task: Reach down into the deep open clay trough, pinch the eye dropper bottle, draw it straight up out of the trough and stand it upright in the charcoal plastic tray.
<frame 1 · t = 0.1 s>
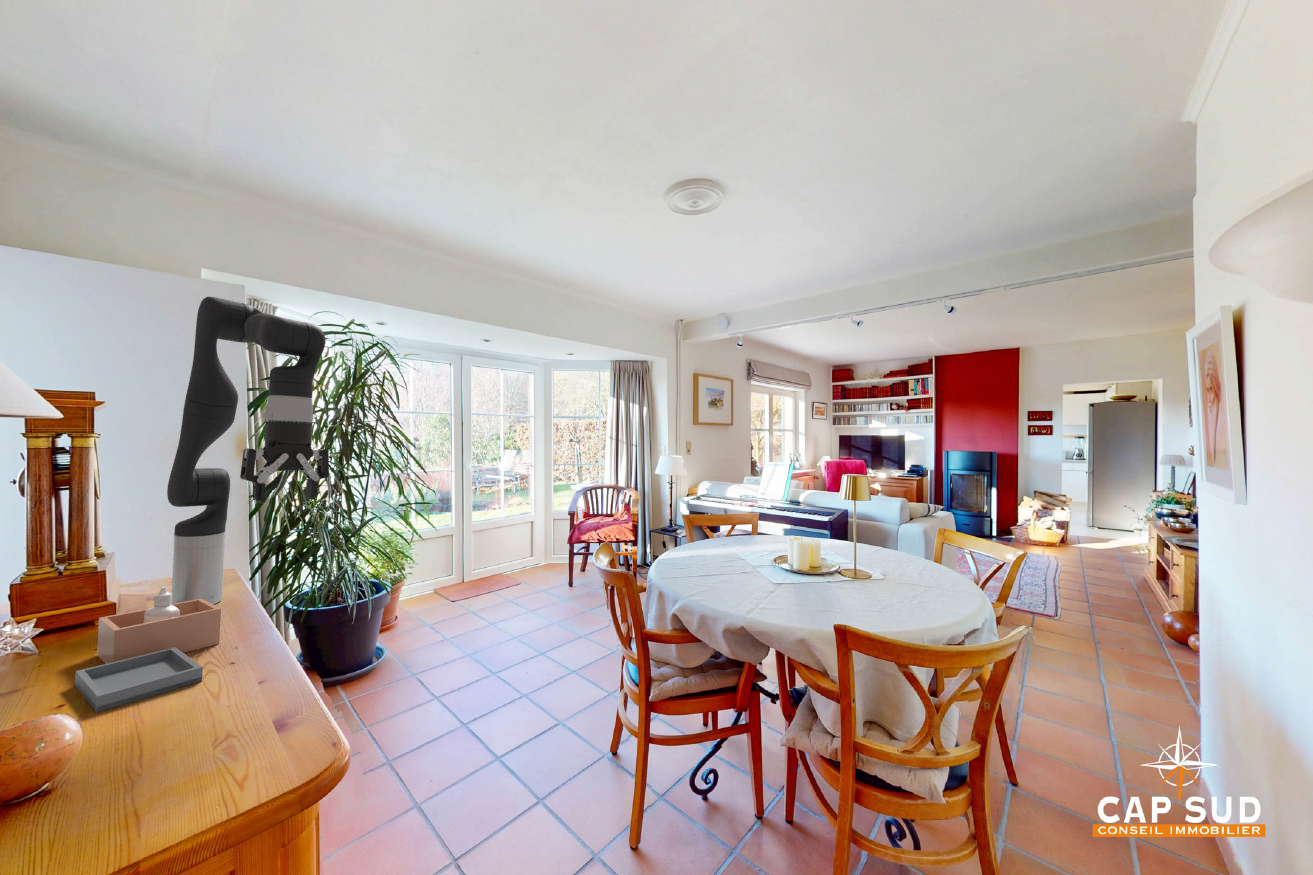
hand: (285, 500, 98), 29 cm above the sideboard, tool pointing down, fingers open, 8 cm apart
charcoal tray: (139, 683, 82), on the sideboard
open clay trough: (160, 649, 95), on the sideboard
eye dropper bottle: (160, 650, 95), resting in open clay trough
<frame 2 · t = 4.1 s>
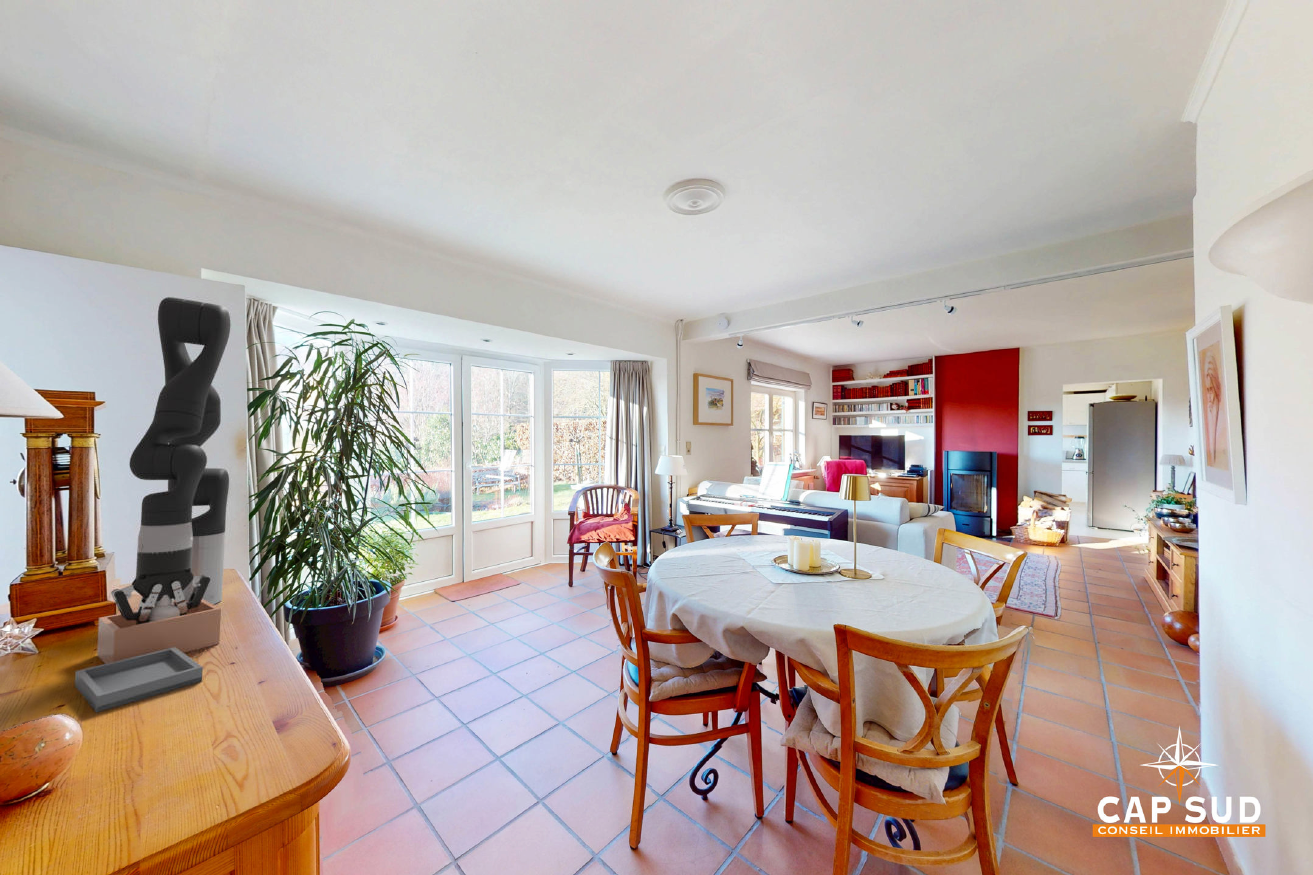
hand: (160, 634, 95), 3 cm above the sideboard, tool pointing down, fingers closed on eye dropper bottle, 4 cm apart
eye dropper bottle: (160, 650, 95), resting in open clay trough, touching gripper
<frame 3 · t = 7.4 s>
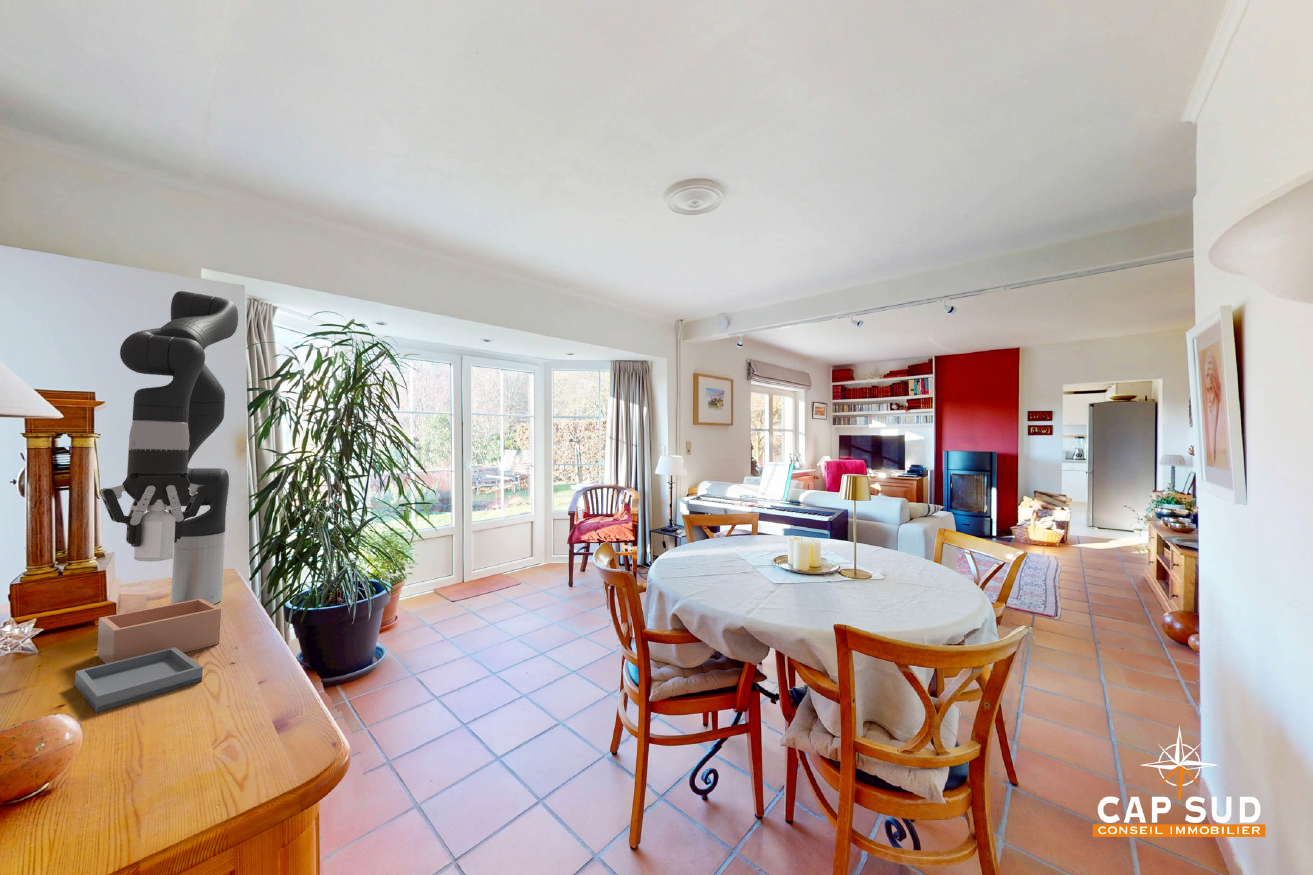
hand: (154, 543, 87), 22 cm above the sideboard, tool pointing down, fingers closed on eye dropper bottle, 4 cm apart
eye dropper bottle: (153, 560, 87), point 19 cm above the sideboard, touching gripper
when the fingers open (4 cm above the sideboard, at t = 10.9 s): eye dropper bottle stays where it is, resting on charcoal tray.
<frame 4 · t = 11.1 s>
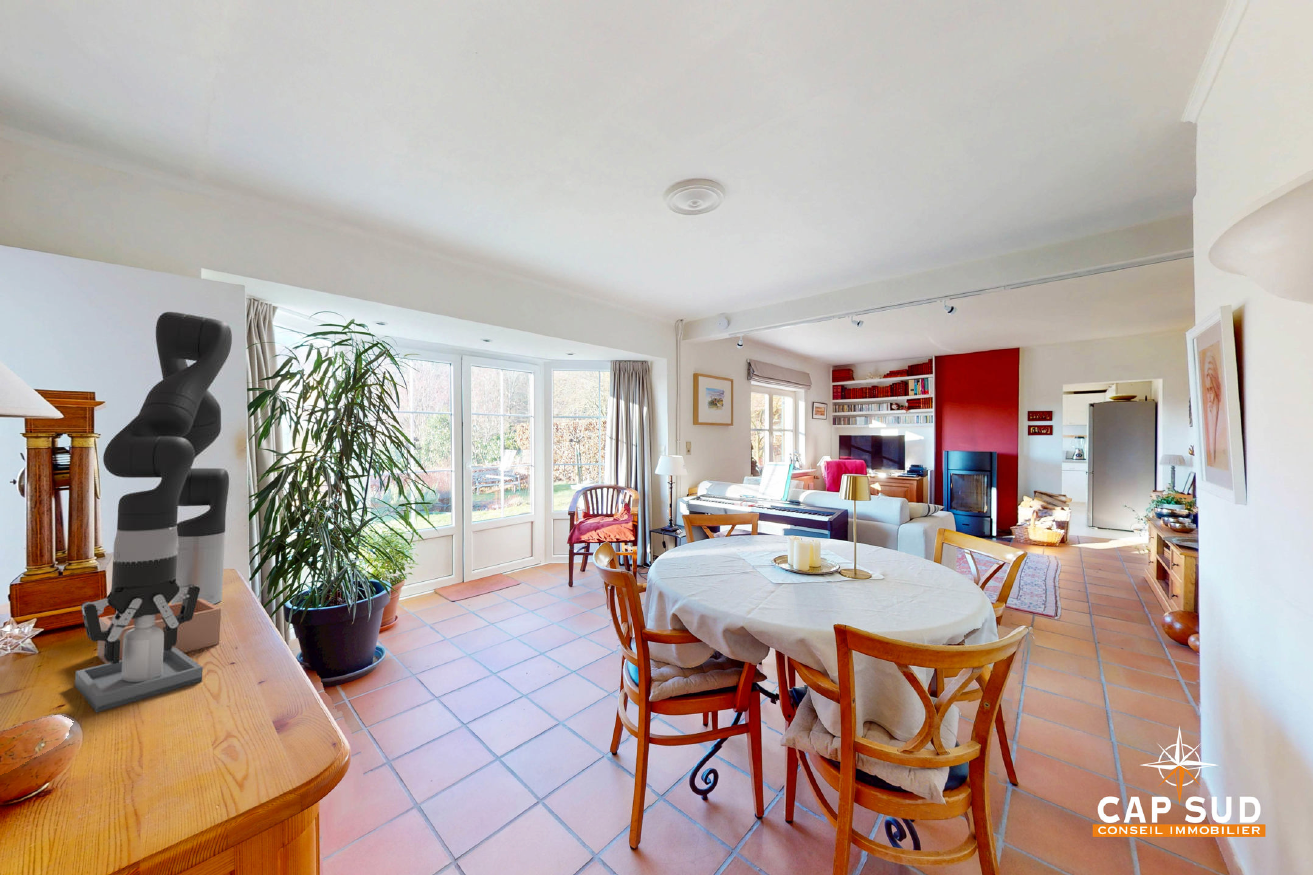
hand: (141, 655, 82), 5 cm above the sideboard, tool pointing down, fingers open, 5 cm apart
eye dropper bottle: (141, 678, 82), point 1 cm above the sideboard, touching charcoal tray
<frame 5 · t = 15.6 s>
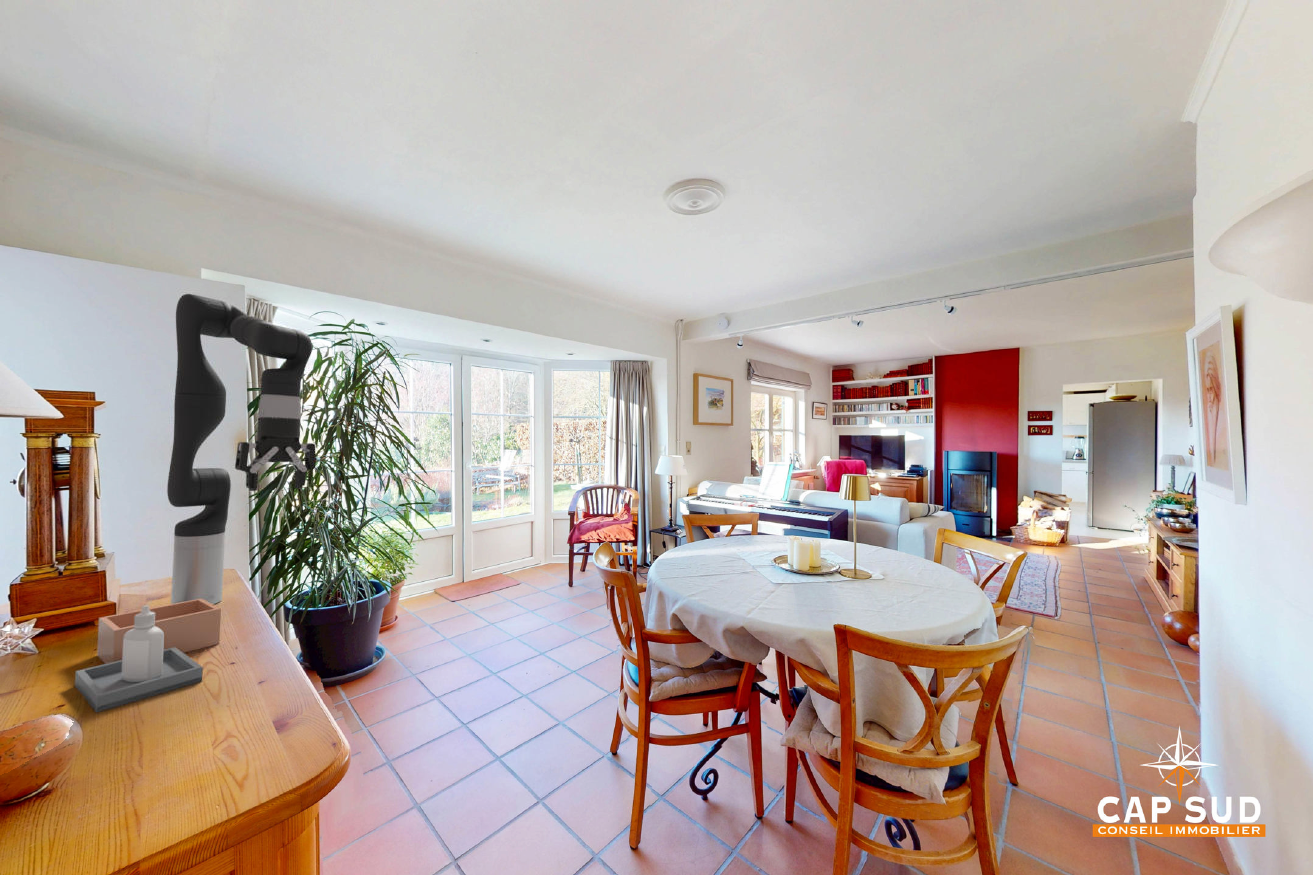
hand: (276, 489, 109), 30 cm above the sideboard, tool pointing down, fingers open, 8 cm apart
nothing on the sideboard moved.
at the end: eye dropper bottle inside the target area on the charcoal tray (0.3 cm from its centre), point 0.6 cm above the charcoal tray's base; eye dropper bottle tilted 0°; the gripper is holding nothing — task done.
